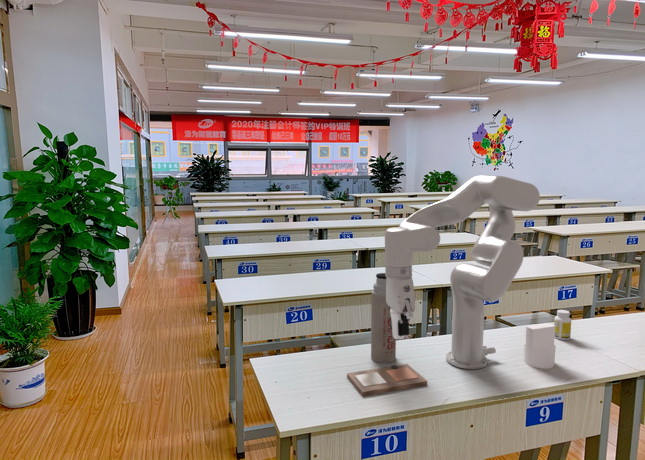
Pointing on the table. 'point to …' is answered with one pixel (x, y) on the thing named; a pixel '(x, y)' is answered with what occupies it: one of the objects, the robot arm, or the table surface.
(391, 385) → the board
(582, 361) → the table surface
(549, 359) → the base with upright slab
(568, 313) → the supplement bottle
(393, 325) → the milkshake
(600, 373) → the table surface
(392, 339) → the thermos bottle
